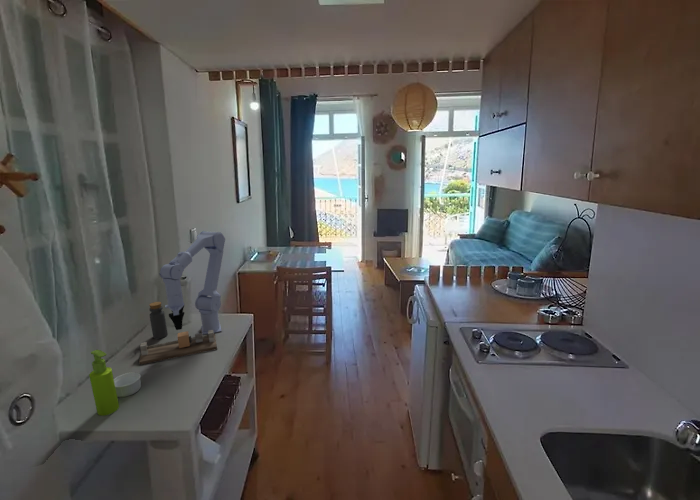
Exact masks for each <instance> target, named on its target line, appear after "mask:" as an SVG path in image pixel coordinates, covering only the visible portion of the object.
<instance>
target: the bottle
mask: <svg viewBox="0 0 700 500" xmlns="http://www.w3.org/2000/svg"><path fill="white" fill-rule="evenodd" d="M163 308H164V306H163V305H162V302H161V301H153V302H151V303H149V312H150V313H149V321H150V327H151V332H152V337H153V339H157V340H159V339H163V338H166V337H167V336H168V335H169V334H168V325H167V321H166V315H165V314H166V313H165V311H163Z"/></svg>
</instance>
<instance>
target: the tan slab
mask: <svg viewBox="0 0 700 500" xmlns="http://www.w3.org/2000/svg"><path fill="white" fill-rule="evenodd" d="M189 342H190V346H188V347H183V348H179V344H178V339H176V340H173V341H168V342H162V343H156V344H151V345H148V344H147V343H148V342H145V341H144V342H141V343H140V345H139V346H140V353H141V354H140V356H139V360H138V361H139V362H138V363H139V365H140V366H141V365H142V366H143V365H147V364H151V363H157V362H161V361H166V360H170V359H175V358H180V357H186V356H189V355H190V356H191V355H196V354H200V353H205V352H209V351H215V350H218V346H217V339H216V334H215V333H213V330H209V331H208V334H205V335H202V332H200V333H195V334H194V336H193V337H192V336H191V335H189Z"/></svg>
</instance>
